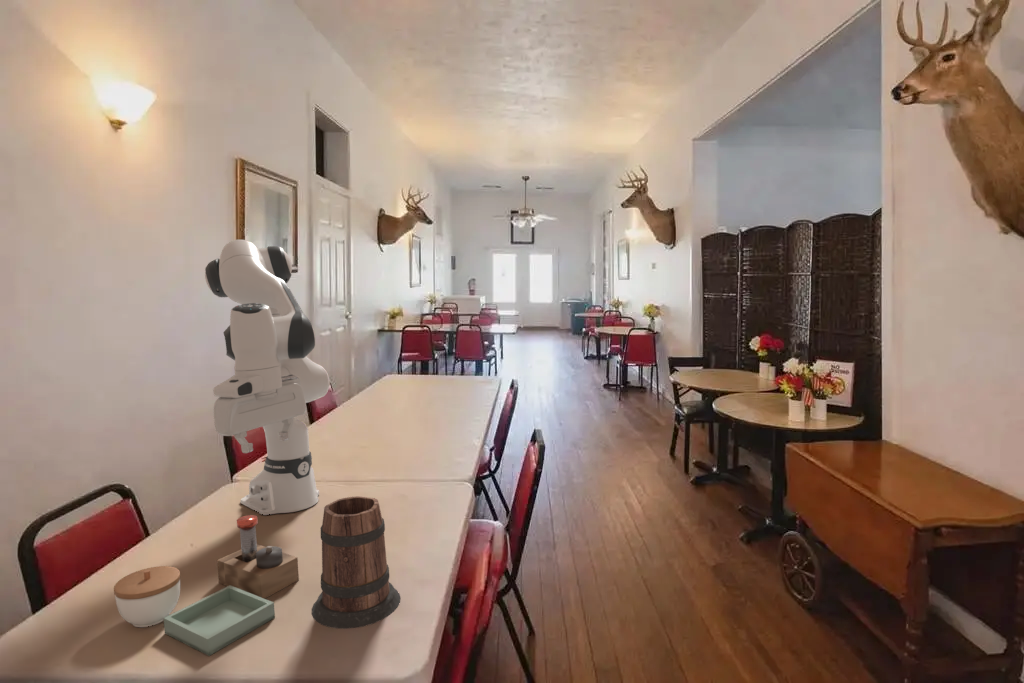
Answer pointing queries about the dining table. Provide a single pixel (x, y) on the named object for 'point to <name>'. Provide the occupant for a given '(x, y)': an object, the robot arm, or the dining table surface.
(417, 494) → the dining table surface
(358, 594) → the tankard
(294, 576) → the block
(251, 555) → the lock pin
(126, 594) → the lidded jar
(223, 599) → the tray
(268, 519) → the dining table surface
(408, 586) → the dining table surface
